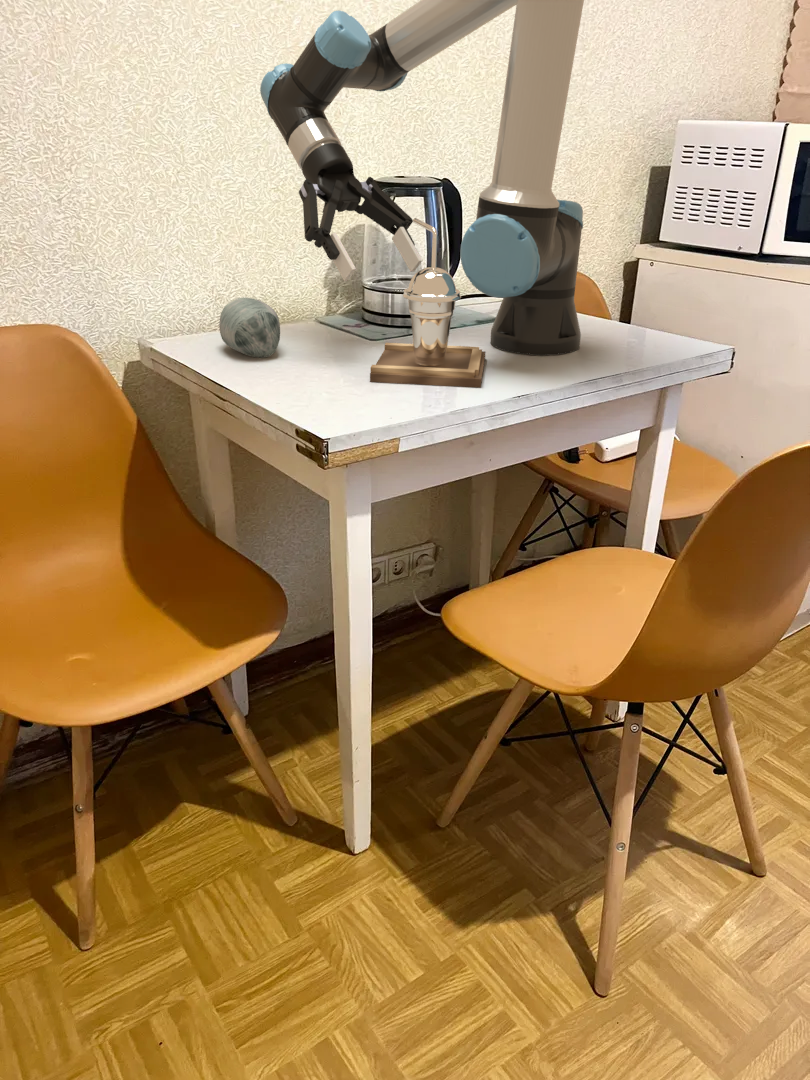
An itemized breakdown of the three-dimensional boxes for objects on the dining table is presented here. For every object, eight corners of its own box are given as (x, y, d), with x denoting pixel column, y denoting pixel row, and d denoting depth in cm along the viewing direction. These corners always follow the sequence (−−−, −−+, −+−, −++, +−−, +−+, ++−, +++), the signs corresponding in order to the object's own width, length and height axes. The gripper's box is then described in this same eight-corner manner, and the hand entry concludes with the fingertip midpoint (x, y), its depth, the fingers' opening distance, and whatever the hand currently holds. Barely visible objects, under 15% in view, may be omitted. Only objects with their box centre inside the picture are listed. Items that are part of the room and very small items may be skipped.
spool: (299, 338, 128) (263, 280, 124) (247, 371, 126) (210, 313, 123) (285, 340, 140) (252, 287, 137) (238, 369, 139) (204, 317, 136)
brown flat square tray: (485, 359, 131) (485, 346, 130) (480, 387, 117) (481, 373, 116) (386, 354, 133) (386, 341, 132) (370, 381, 119) (369, 368, 118)
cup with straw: (404, 370, 120) (407, 224, 111) (398, 354, 128) (400, 217, 119) (462, 369, 121) (469, 225, 111) (452, 354, 129) (458, 218, 119)
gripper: (371, 174, 139) (429, 277, 136) (246, 178, 124) (309, 295, 121) (392, 140, 133) (454, 247, 130) (263, 140, 118) (330, 262, 115)
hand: (384, 270), depth 126 cm, fingers open, 13 cm apart
